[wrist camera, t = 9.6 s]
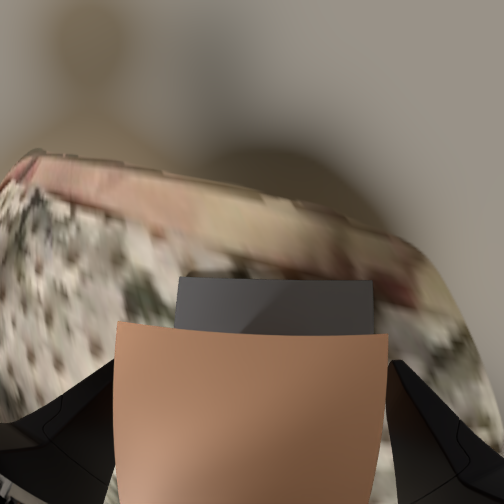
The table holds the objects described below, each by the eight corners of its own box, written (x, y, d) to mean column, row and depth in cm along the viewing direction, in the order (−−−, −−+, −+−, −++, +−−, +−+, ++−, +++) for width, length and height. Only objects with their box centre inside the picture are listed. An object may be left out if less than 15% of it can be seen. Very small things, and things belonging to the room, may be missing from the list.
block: (308, 419, 15) (353, 550, 3) (228, 415, 16) (123, 523, 3) (312, 343, 17) (388, 333, 4) (232, 340, 17) (117, 320, 5)
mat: (359, 463, 14) (362, 467, 13) (173, 452, 15) (169, 456, 15) (369, 283, 18) (372, 280, 17) (183, 279, 20) (179, 276, 19)
